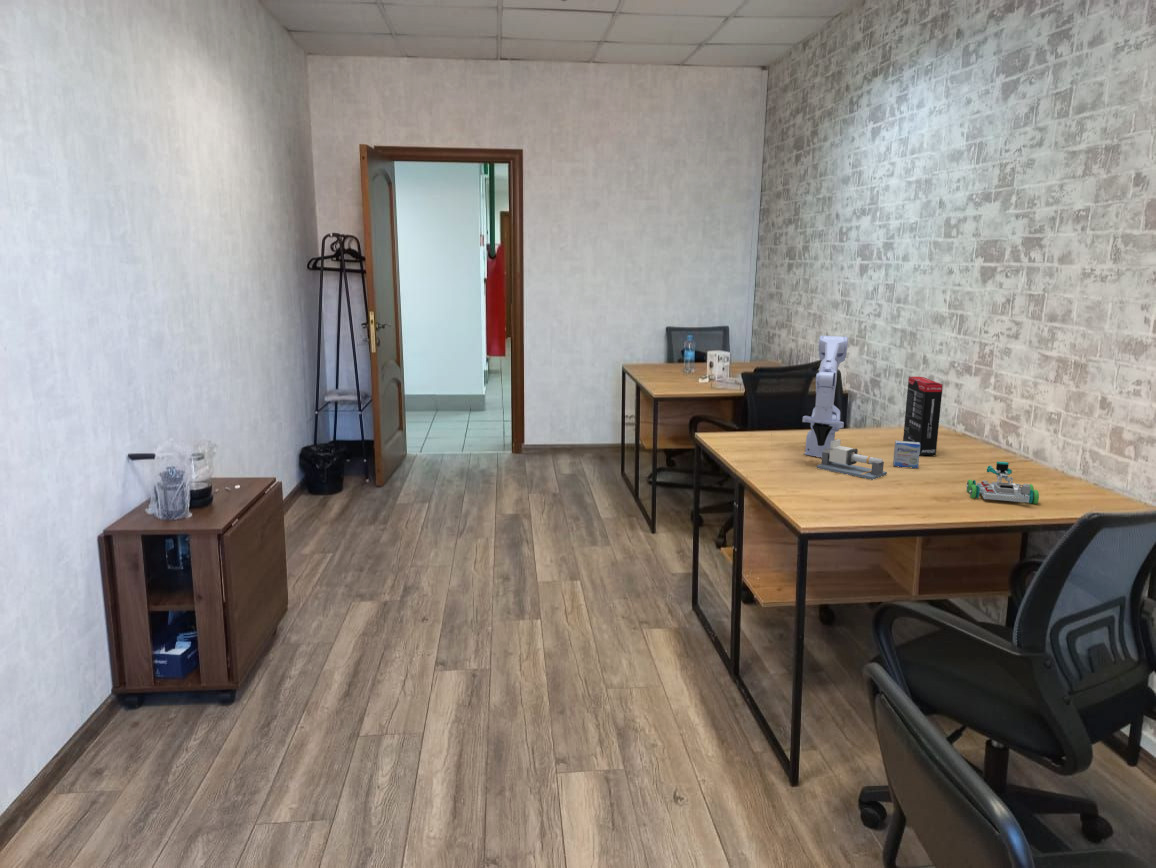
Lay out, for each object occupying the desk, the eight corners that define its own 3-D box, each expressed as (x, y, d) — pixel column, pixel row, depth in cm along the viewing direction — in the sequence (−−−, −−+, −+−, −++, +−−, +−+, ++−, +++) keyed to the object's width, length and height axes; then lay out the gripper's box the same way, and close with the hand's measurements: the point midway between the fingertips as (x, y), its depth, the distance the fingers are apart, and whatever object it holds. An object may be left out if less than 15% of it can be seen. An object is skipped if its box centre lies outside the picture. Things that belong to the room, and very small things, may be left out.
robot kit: (1022, 486, 252) (1026, 458, 250) (1042, 509, 229) (1046, 477, 227) (958, 481, 258) (961, 453, 256) (971, 502, 234) (975, 472, 232)
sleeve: (829, 461, 269) (830, 441, 268) (836, 458, 273) (838, 439, 271) (845, 464, 265) (847, 444, 264) (852, 462, 268) (854, 442, 267)
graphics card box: (937, 457, 288) (945, 383, 283) (917, 456, 289) (925, 382, 283) (918, 446, 305) (925, 376, 299) (900, 446, 305) (907, 376, 300)
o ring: (846, 465, 265) (847, 450, 264) (854, 462, 268) (855, 448, 267) (849, 466, 264) (850, 450, 263) (856, 463, 268) (858, 448, 266)
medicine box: (893, 467, 273) (896, 442, 272) (892, 464, 278) (895, 439, 276) (918, 469, 271) (920, 444, 269) (916, 465, 275) (919, 441, 274)
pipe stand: (816, 468, 270) (818, 450, 269) (831, 463, 277) (833, 445, 276) (872, 480, 256) (874, 461, 255) (886, 474, 263) (888, 456, 262)
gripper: (798, 405, 273) (796, 443, 276) (837, 411, 263) (834, 450, 266) (809, 402, 278) (806, 440, 281) (848, 408, 268) (844, 447, 270)
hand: (820, 445), depth 274 cm, fingers closed
